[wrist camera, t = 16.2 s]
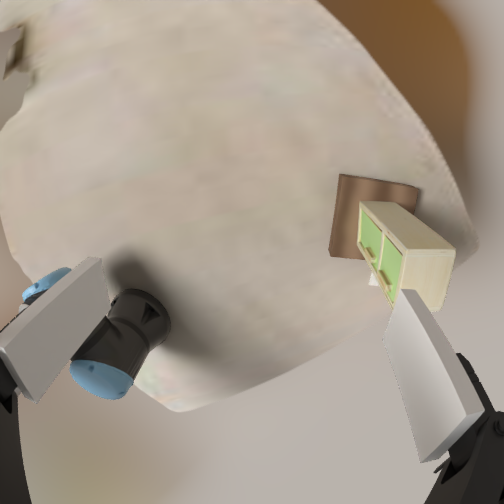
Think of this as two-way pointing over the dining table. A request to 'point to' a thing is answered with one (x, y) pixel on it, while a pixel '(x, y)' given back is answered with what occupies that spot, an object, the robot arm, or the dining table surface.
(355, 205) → the walnut plinth
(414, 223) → the toy refrigerator
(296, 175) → the dining table surface
